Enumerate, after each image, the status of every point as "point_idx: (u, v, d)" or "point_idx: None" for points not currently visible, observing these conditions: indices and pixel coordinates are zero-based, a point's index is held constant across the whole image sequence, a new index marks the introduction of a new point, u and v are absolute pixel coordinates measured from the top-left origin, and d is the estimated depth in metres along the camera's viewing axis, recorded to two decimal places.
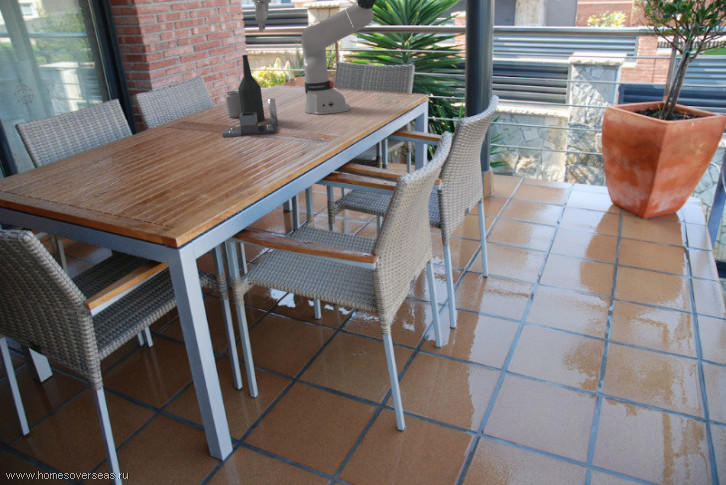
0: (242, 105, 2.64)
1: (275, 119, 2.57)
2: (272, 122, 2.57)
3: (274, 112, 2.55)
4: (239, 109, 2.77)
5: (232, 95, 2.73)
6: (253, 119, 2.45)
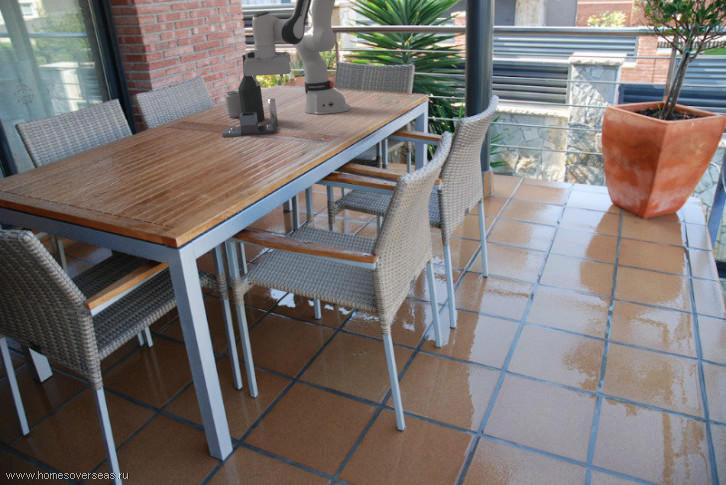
0: (242, 105, 2.64)
1: (275, 119, 2.57)
2: (272, 122, 2.57)
3: (274, 112, 2.55)
4: (239, 109, 2.77)
5: (232, 95, 2.73)
6: (253, 119, 2.45)
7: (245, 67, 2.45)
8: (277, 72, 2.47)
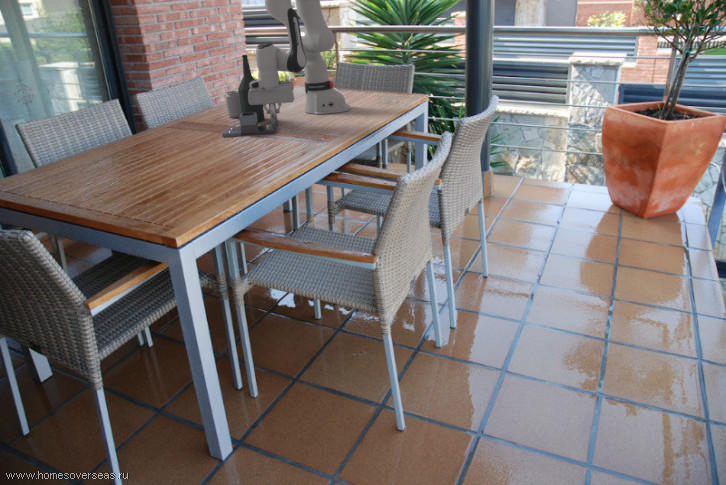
0: (242, 105, 2.64)
1: (275, 119, 2.57)
2: (272, 122, 2.57)
3: (274, 112, 2.55)
4: (239, 109, 2.77)
5: (232, 95, 2.73)
6: (253, 119, 2.45)
7: (249, 96, 2.51)
8: (281, 101, 2.53)
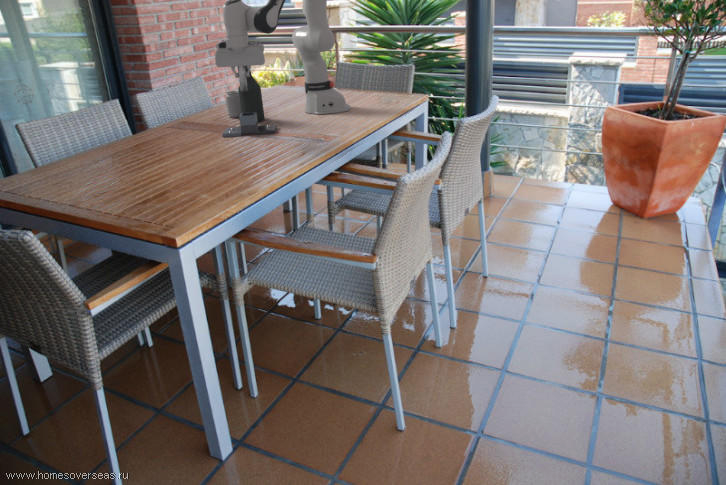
0: (242, 105, 2.64)
1: (244, 83, 2.40)
2: (241, 86, 2.41)
3: (243, 75, 2.39)
4: (239, 109, 2.77)
5: (232, 95, 2.73)
6: (253, 119, 2.45)
7: (216, 58, 2.34)
8: (250, 63, 2.36)
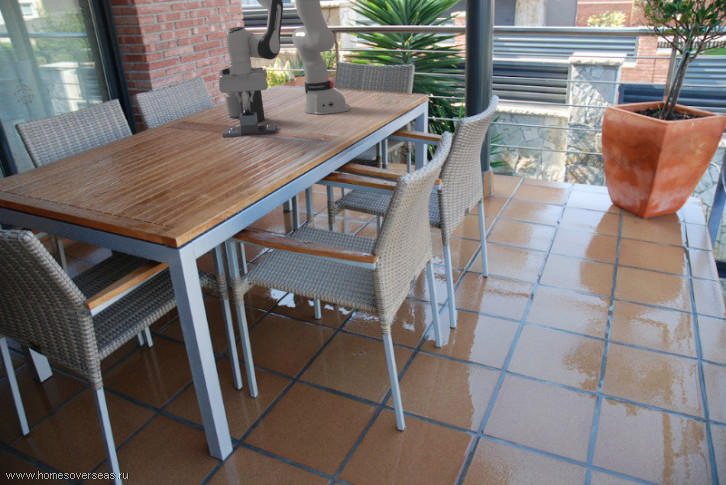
0: (242, 105, 2.64)
1: (248, 108, 2.45)
2: (245, 111, 2.45)
3: (247, 100, 2.43)
4: (239, 109, 2.77)
5: (232, 95, 2.73)
6: (253, 119, 2.45)
7: (220, 84, 2.39)
8: (253, 88, 2.41)
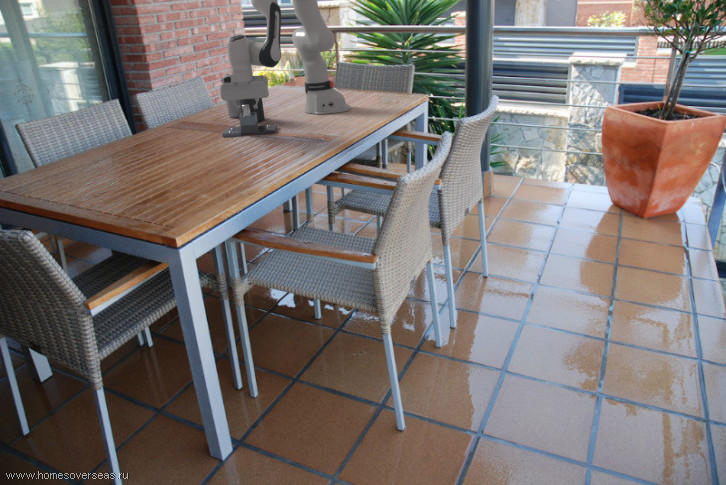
0: None
1: None
2: None
3: None
4: None
5: None
6: (253, 119, 2.45)
7: (222, 92, 2.40)
8: (255, 96, 2.42)
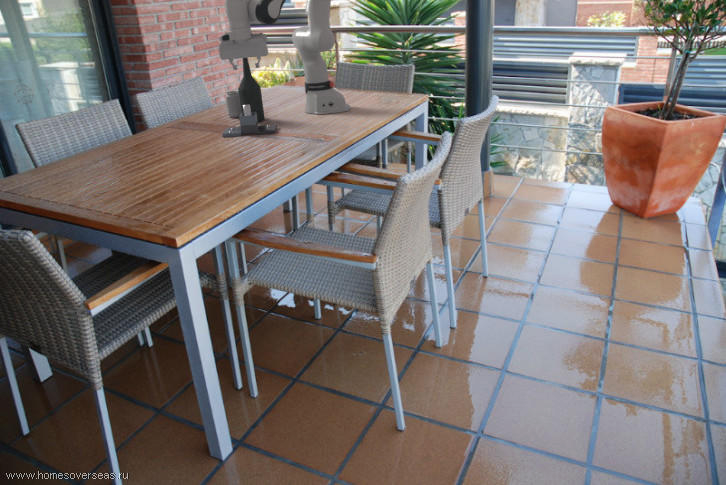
0: (242, 105, 2.64)
1: None
2: None
3: None
4: (239, 109, 2.77)
5: (232, 95, 2.73)
6: (253, 119, 2.45)
7: (220, 50, 2.36)
8: (254, 54, 2.38)
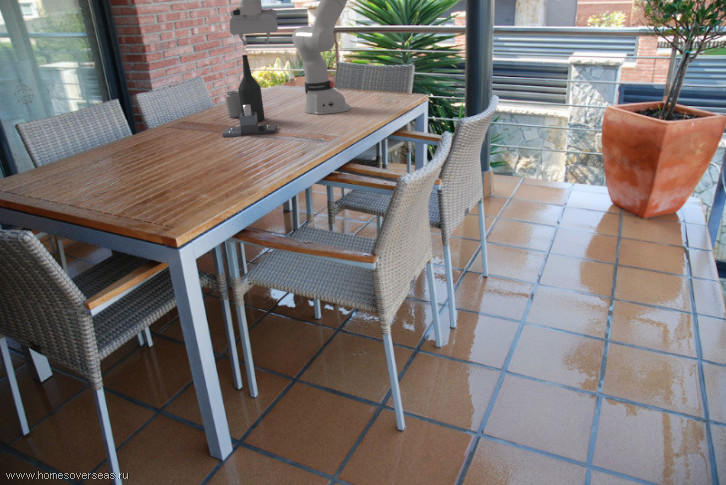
0: (242, 105, 2.64)
1: None
2: None
3: None
4: (239, 109, 2.77)
5: (232, 95, 2.73)
6: (253, 119, 2.45)
7: (231, 25, 2.41)
8: (264, 30, 2.42)
